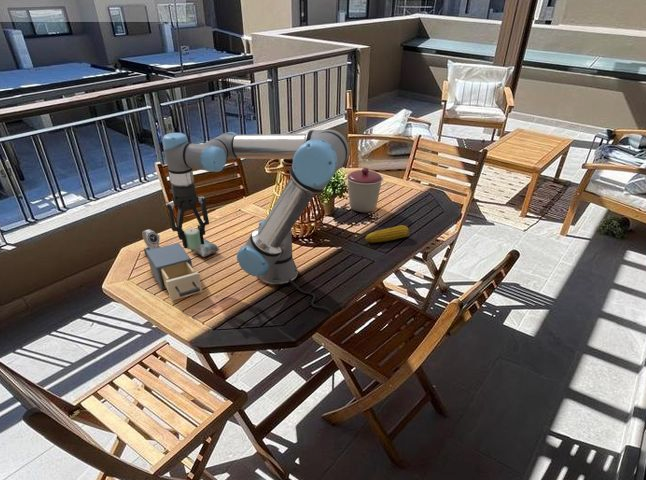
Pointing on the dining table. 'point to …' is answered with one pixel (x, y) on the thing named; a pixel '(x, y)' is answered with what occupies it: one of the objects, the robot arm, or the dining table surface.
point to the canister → (364, 189)
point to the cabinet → (166, 259)
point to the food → (387, 234)
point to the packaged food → (206, 249)
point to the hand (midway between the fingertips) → (193, 244)
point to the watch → (150, 240)
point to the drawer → (180, 280)
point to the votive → (192, 238)
